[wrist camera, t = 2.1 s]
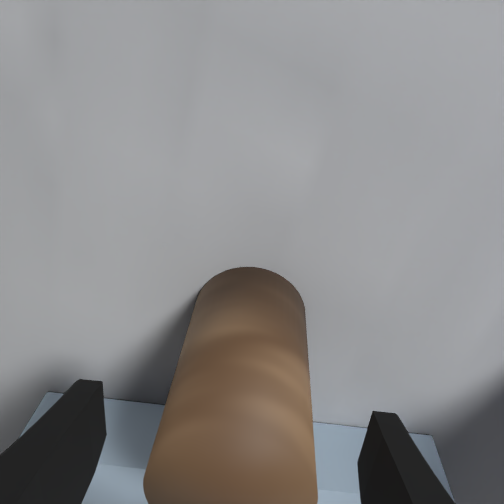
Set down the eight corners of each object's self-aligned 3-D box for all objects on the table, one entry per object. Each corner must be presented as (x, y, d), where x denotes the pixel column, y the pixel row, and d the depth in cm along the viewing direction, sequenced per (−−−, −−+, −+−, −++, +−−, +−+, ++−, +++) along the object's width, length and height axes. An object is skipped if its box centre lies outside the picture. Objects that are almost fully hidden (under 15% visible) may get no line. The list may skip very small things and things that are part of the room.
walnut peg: (313, 273, 16) (332, 445, 10) (296, 363, 18) (304, 554, 11) (196, 260, 16) (140, 423, 10) (193, 351, 18) (144, 536, 11)
